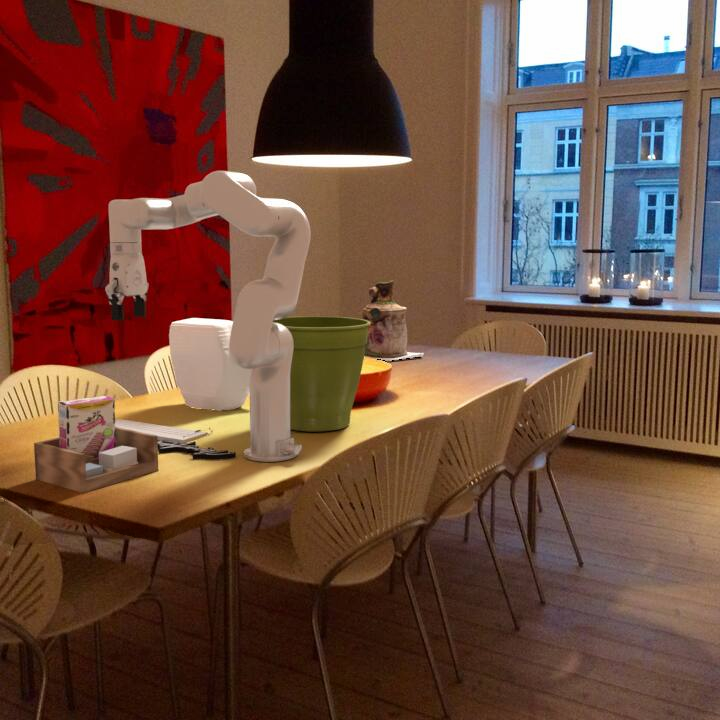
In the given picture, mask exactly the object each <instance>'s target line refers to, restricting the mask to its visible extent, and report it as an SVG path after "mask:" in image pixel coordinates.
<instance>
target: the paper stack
mask: <svg viewBox="0 0 720 720" xmlns="http://www.w3.org/2000/svg"><path fill="white" fill-rule="evenodd" d="M232 324H233V320H229V319H228V320H227V319H215V318H200V317H191V318H190V317H189V318H185V319H181V320H176V321H172V322H171V324H170V325H169V333H168V339H169V341H168V342H169V354H170V360H171V365H172V368H173V371H174V372H173V373H174V379H175V385H176V387H177V388H179V390H180V394H181V396H182V398H183V399H184V403H185V406H189V407H194V408H201V409H214V410H227V411H233V410H235V409H238V408H241V407H242V406H244V405H245V403H246V402H247V398H248V396H249V395H250V375H251V370H252V369H244V368H241V367H239V366H238V365H237V364H235V362H234V361H233V359H232V358H231V355H230V350H229V341H230V335H231V329H232ZM189 407H188V408H189Z"/></svg>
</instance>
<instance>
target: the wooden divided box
mask: <svg viewBox="0 0 720 720" xmlns="http://www.w3.org/2000/svg"><path fill="white" fill-rule="evenodd" d="M115 446H116V447H119V446H128V447H133V448H137V462H138V464H136V465H132V466H129V467H125V468H122V469H118V470H114V471H111V472H107V473H104V474H100V475H97V476H93V477H89V478H86V464H87V463H93V464H97V465H99V457H98V458H94V459H90V460H86V461H85V454H84V453H80V452H76V451H72V450H68V449H64V448H60V445H59V437H54V438H50V439H47V440H41V441H38V442H34V443H33V451H34V454H33V455H34V469H35V480H36V481H40V482H44V483H47V484H50V485H54V486H58V487H61V488H64V489H67V490H71V491H75V492H78V493H81V494H85V493H88V492H91V491H94V490H98V489H101V488H105V487H108V486H112V485H115V484H119V483H122V482H125V481H128V480H127V479H129V480H131V479H130V478H132V479H135V478H134V477H136V478H138V477H137V476H139V477H141V476H140V475H142V476H145V475H144V474H146V475H149V474H152V473H151V472H153V473H155V471H156V472H158V471H159V449H158V442H157V436H156V435H151V434H147V433H142V432H137V431H133V430H128V429H123V428H119V427H115ZM148 473H149V474H148ZM118 482H119V483H118Z"/></svg>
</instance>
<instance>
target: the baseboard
mask: <svg viewBox="0 0 720 720" xmlns="http://www.w3.org/2000/svg"><path fill="white" fill-rule="evenodd" d="M115 427H119V428H123V429H128V430H133V431H137V432H142V433H147V434H151V435H156V436H157V439H162V440H169V441H176V442H183V443H190V442H194V441H196V440H199V439H202V438H205V437H208V436H211V434H213V430H211V427H209V428H208V430H210V433H209V432H206V431H202V429H197V430H194V429H193V430H192V429H187V428H180V427H173V426H167V425H160V424H156V423H155V424H154V423H146V422H141V421H135V420H129V419H122V418H121V419H120V418H119V419H117V420H116V419H115ZM207 435H208V436H207ZM204 436H205V437H204Z"/></svg>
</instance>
